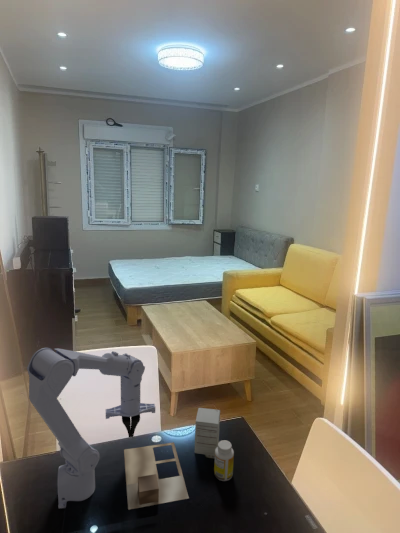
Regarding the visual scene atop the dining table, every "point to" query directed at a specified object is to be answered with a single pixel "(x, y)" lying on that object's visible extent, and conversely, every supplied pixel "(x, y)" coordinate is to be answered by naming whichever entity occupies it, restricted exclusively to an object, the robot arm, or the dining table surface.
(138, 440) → the dining table surface
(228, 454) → the supplement bottle
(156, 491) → the walnut block
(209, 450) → the supplement box
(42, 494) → the dining table surface
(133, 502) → the board
